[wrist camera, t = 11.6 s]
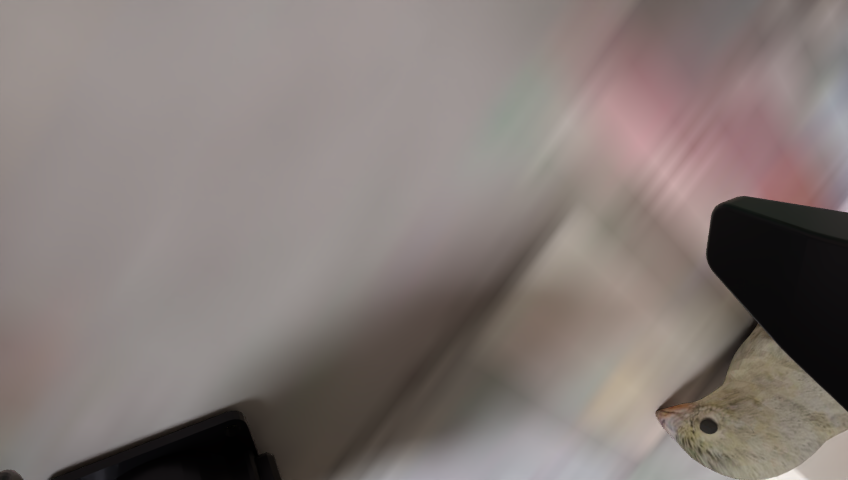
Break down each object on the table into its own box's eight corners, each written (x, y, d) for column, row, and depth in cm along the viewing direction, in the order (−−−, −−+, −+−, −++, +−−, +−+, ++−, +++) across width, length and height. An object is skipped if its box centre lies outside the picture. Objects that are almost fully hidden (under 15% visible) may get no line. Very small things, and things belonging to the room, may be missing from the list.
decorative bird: (633, 389, 32) (757, 510, 26) (885, 173, 33) (1063, 245, 27) (665, 438, 36) (781, 555, 30) (894, 241, 36) (1053, 319, 30)
